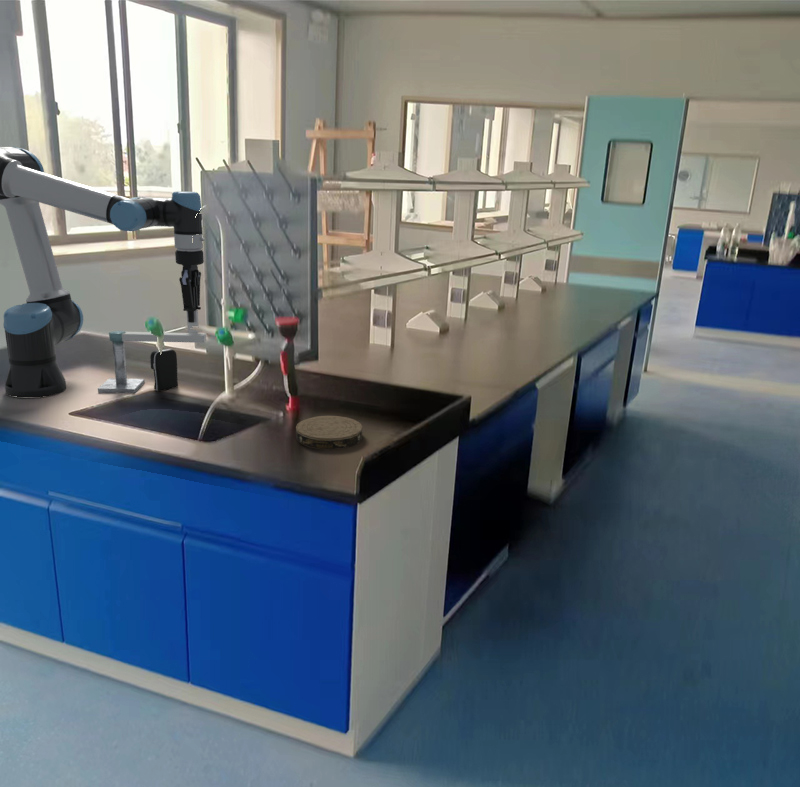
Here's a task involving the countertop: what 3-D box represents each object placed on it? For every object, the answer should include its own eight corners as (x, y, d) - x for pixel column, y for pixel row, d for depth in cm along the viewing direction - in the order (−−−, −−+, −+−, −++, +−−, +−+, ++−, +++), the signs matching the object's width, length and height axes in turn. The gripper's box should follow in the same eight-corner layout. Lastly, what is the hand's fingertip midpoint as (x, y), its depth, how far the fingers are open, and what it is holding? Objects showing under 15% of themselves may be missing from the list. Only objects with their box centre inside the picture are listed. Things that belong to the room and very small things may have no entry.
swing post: (98, 392, 203) (93, 344, 199) (109, 382, 213) (105, 336, 209) (134, 393, 204) (131, 345, 200) (144, 382, 213) (141, 337, 209)
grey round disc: (334, 422, 188) (334, 411, 187) (375, 440, 177) (375, 428, 176) (282, 436, 177) (282, 424, 177) (323, 455, 167) (323, 443, 166)
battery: (171, 384, 213) (168, 346, 209) (179, 387, 211) (177, 348, 207) (150, 389, 208) (147, 350, 204) (158, 392, 205) (155, 352, 202)
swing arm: (107, 341, 202) (106, 334, 201) (112, 337, 206) (111, 330, 206) (203, 343, 204) (203, 336, 203) (206, 339, 208) (206, 332, 207)
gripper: (196, 252, 196) (200, 338, 203) (209, 247, 209) (212, 328, 216) (168, 251, 196) (173, 337, 203) (182, 246, 209) (186, 327, 216)
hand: (193, 332), depth 209 cm, fingers closed
